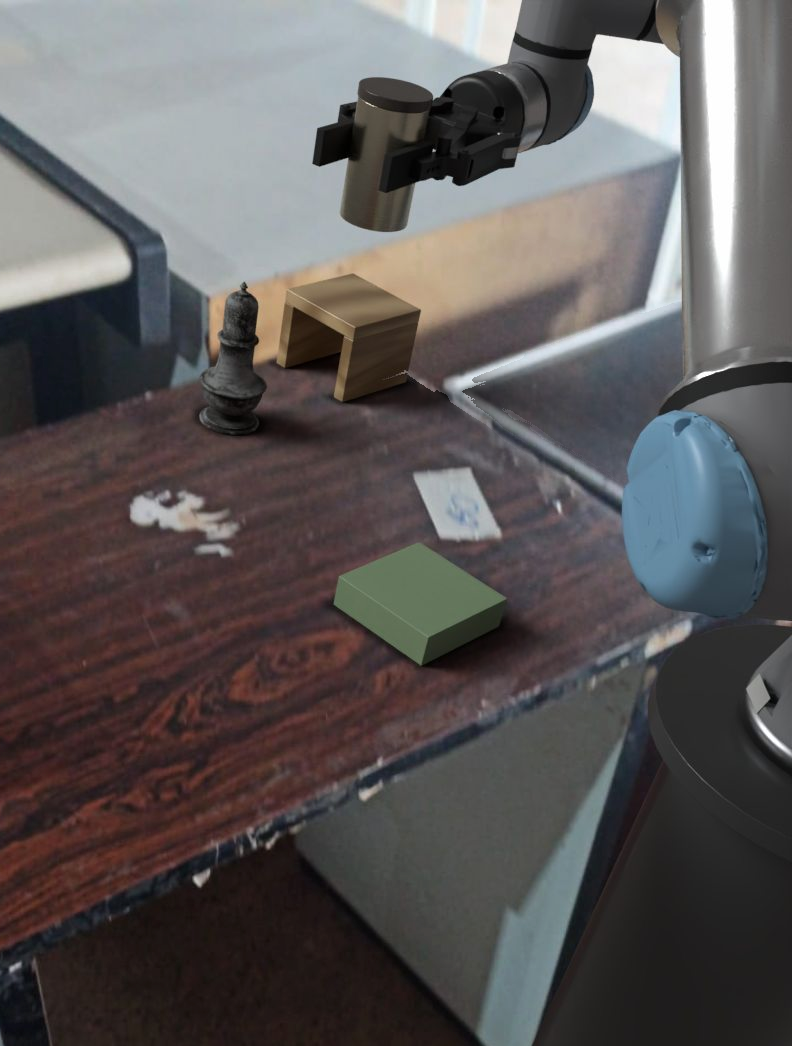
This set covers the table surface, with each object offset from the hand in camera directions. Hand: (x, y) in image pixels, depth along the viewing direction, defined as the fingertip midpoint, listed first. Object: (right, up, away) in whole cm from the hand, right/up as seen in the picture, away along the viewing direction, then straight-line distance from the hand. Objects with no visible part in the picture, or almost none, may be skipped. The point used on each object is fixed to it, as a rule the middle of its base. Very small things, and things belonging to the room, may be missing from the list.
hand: (351, 160), depth 105 cm
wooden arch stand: (0, -10, +19) cm, 21 cm away
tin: (+2, -1, +7) cm, 8 cm away
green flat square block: (+4, -39, -8) cm, 40 cm away
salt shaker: (-11, -18, +9) cm, 23 cm away
